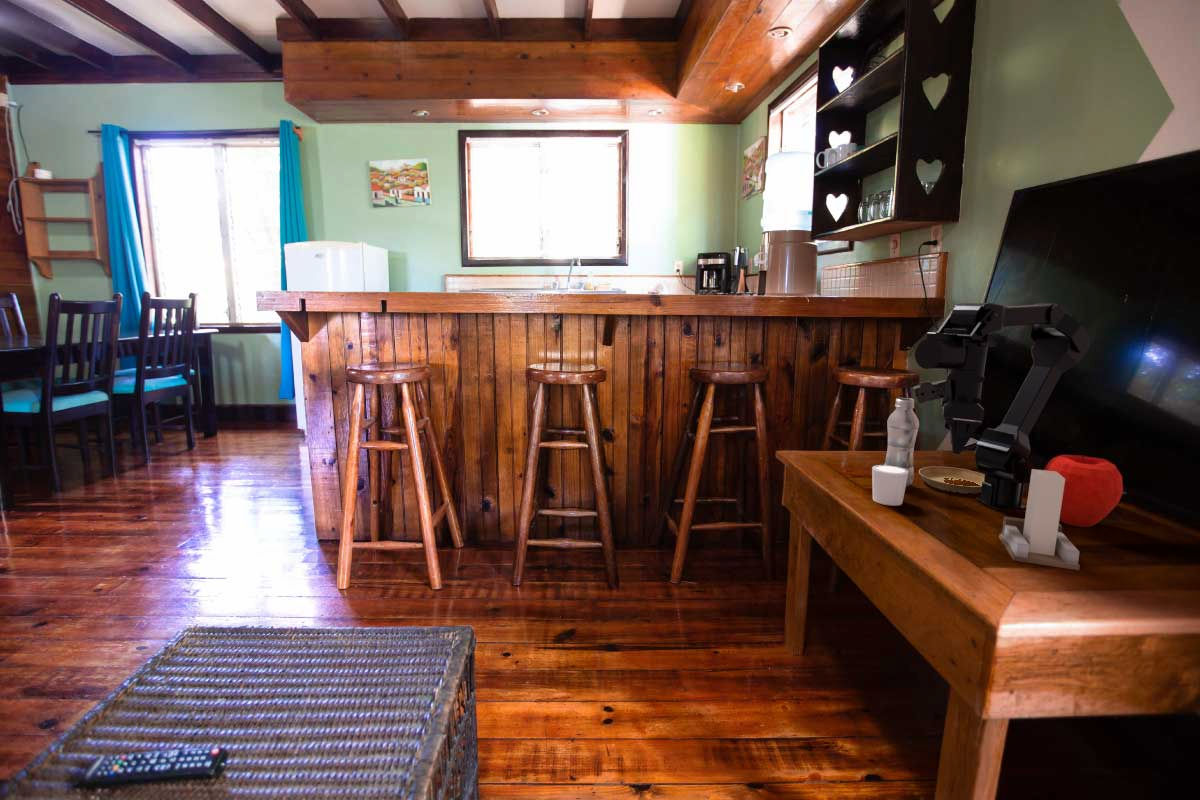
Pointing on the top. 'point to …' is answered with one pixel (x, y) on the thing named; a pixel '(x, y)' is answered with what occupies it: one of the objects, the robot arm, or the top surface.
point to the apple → (1087, 488)
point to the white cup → (889, 484)
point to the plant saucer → (937, 475)
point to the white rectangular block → (1043, 511)
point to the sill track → (1019, 548)
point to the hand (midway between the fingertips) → (954, 448)
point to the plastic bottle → (902, 436)
